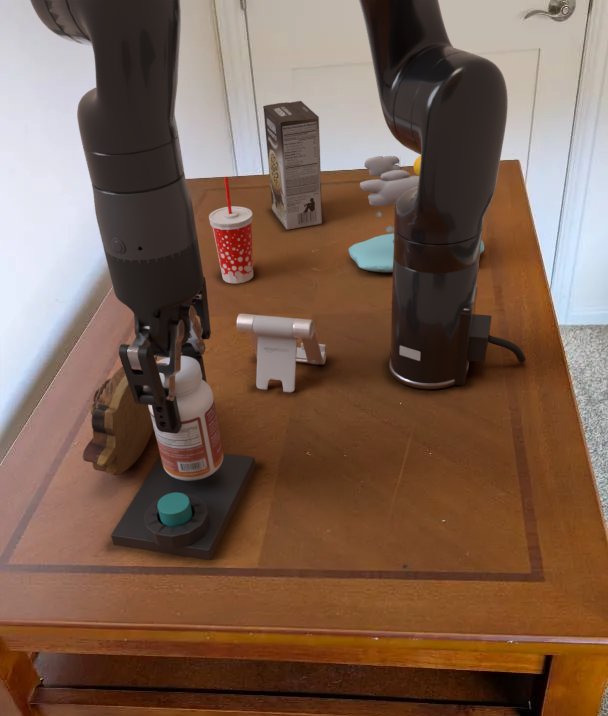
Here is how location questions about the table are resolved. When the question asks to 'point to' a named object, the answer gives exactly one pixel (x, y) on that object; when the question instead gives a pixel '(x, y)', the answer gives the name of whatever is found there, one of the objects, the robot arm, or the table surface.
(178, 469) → the pill bottle
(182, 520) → the tare button
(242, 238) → the beverage cup
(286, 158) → the coffee box
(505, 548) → the table surface
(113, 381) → the wooden carving
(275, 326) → the tablet stand
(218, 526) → the black push button board
